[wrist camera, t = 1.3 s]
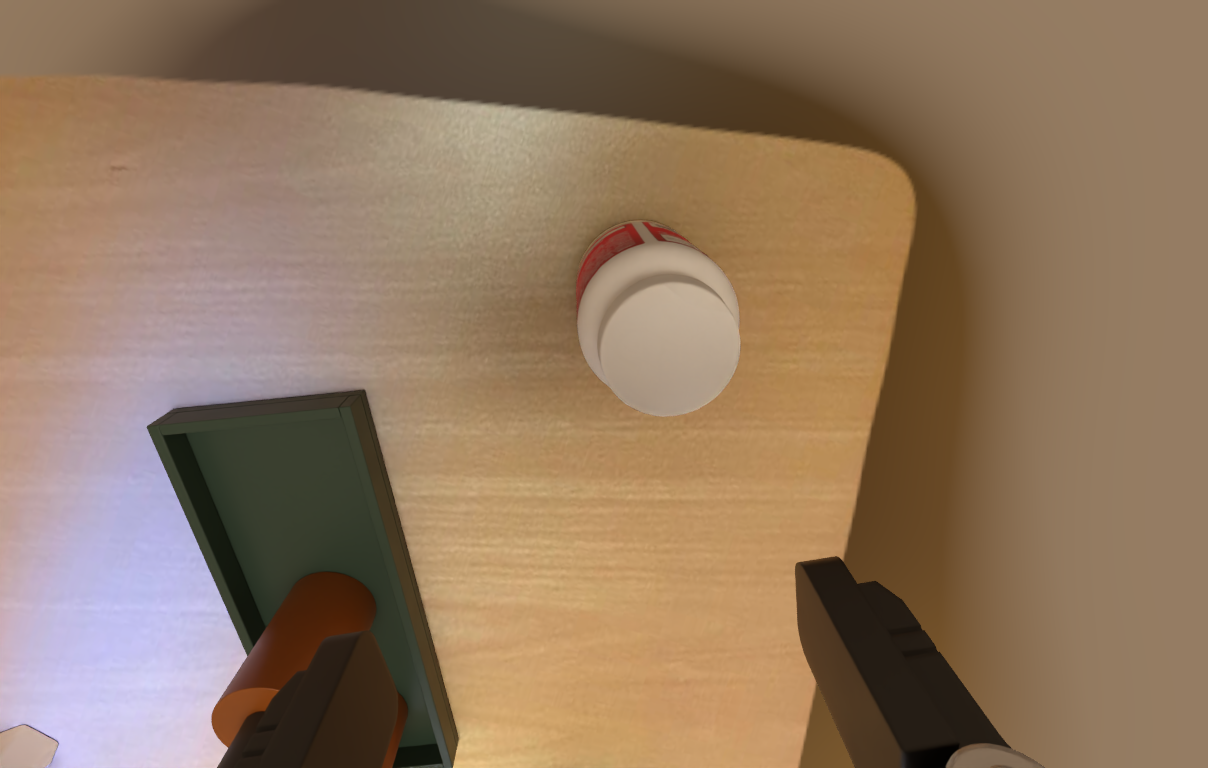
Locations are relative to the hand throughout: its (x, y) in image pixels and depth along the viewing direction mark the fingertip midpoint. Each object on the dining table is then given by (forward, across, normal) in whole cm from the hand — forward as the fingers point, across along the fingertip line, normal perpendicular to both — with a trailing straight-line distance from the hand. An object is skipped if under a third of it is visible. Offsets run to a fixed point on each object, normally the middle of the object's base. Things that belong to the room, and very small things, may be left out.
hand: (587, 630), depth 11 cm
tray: (+20, +18, +15) cm, 31 cm away
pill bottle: (+21, -3, -2) cm, 21 cm away
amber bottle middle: (+20, +18, +15) cm, 31 cm away
